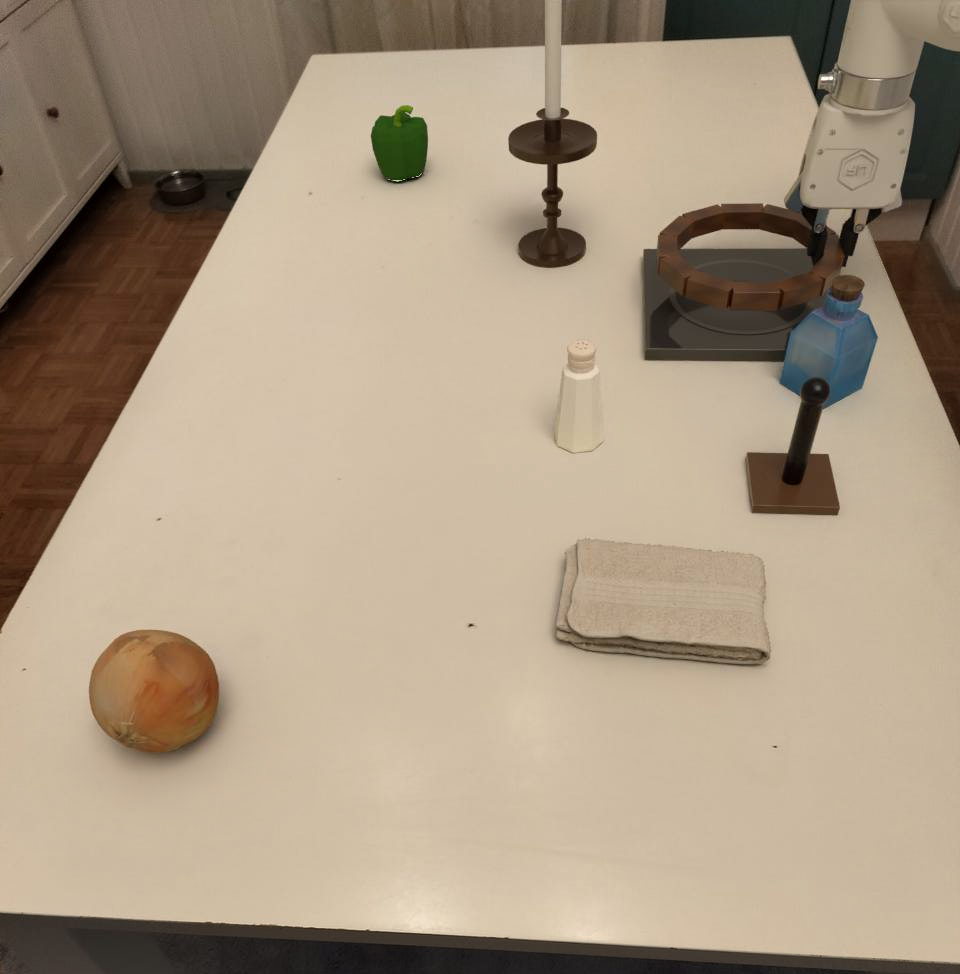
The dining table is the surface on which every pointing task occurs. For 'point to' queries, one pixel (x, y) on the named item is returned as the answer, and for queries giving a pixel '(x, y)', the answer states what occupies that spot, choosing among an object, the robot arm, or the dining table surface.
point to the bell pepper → (400, 144)
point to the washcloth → (664, 602)
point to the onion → (154, 690)
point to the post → (796, 465)
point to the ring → (745, 293)
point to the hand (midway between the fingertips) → (827, 260)
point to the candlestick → (552, 155)
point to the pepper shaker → (580, 401)
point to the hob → (714, 331)
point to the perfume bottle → (832, 343)
